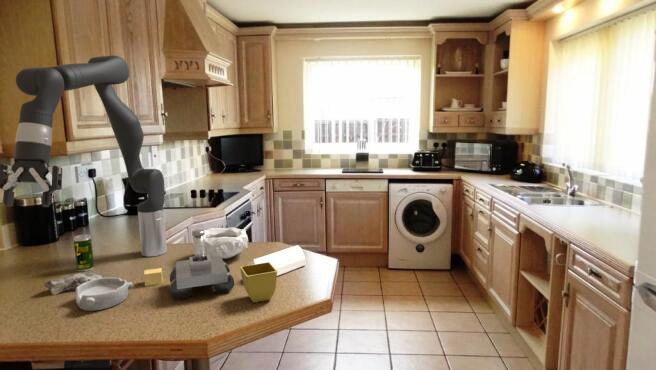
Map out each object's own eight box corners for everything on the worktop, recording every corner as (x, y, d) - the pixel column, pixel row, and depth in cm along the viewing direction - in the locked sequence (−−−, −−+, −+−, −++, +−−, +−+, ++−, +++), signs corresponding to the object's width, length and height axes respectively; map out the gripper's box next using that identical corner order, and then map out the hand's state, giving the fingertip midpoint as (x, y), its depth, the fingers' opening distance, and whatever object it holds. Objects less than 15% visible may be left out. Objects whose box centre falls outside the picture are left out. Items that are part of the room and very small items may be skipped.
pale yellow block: (145, 282, 132) (144, 270, 131) (162, 279, 134) (161, 268, 133) (145, 286, 128) (143, 274, 128) (162, 284, 130) (161, 272, 129)
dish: (93, 317, 108) (91, 299, 108) (64, 306, 115) (62, 289, 114) (141, 296, 121) (140, 280, 120) (112, 287, 128) (111, 272, 127)
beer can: (77, 268, 145) (74, 235, 144) (95, 265, 148) (91, 233, 146) (75, 273, 141) (72, 239, 139) (93, 270, 143) (90, 237, 141)
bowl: (209, 248, 167) (208, 224, 165) (257, 250, 163) (256, 225, 161) (182, 265, 147) (180, 238, 145) (235, 268, 142) (233, 240, 141)
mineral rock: (101, 278, 135) (100, 266, 135) (101, 287, 128) (100, 273, 128) (48, 288, 128) (46, 274, 128) (44, 297, 121) (43, 283, 121)
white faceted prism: (291, 249, 151) (238, 267, 133) (303, 243, 146) (249, 260, 128) (299, 268, 149) (246, 288, 132) (311, 262, 145) (257, 282, 127)
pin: (193, 265, 126) (191, 230, 124) (206, 263, 127) (203, 229, 125) (194, 269, 122) (192, 233, 121) (207, 267, 123) (204, 232, 122)
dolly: (170, 283, 130) (168, 254, 128) (228, 275, 136) (226, 247, 135) (170, 304, 115) (167, 271, 114) (235, 293, 121) (233, 262, 120)
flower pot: (247, 307, 112) (246, 276, 111) (241, 295, 120) (239, 266, 119) (278, 301, 116) (277, 271, 114) (270, 290, 124) (269, 261, 122)
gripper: (70, 147, 110) (64, 208, 108) (13, 145, 108) (5, 206, 106) (55, 141, 102) (49, 206, 100) (-7, 138, 101) (-15, 204, 98)
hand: (26, 206), depth 103 cm, fingers open, 8 cm apart
